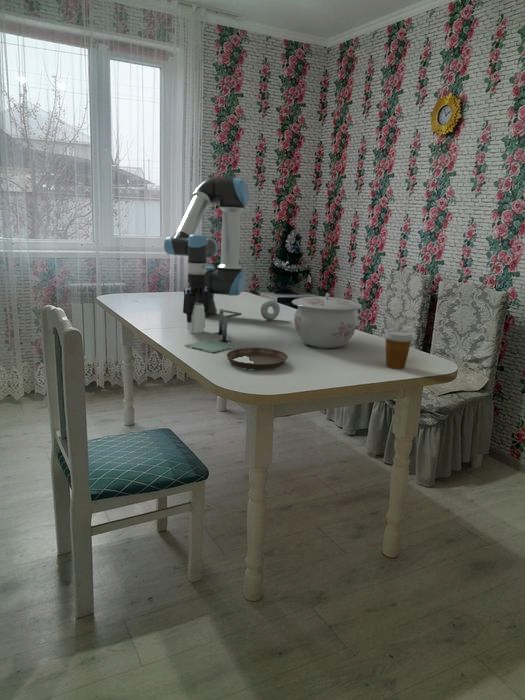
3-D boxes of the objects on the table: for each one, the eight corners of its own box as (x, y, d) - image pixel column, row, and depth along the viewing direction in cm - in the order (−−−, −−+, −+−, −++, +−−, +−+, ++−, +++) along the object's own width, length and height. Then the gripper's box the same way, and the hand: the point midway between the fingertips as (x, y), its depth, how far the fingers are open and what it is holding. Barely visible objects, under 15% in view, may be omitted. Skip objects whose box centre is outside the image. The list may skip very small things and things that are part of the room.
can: (199, 334, 221) (200, 305, 218) (185, 332, 223) (185, 303, 220) (206, 331, 227) (207, 303, 224) (192, 329, 229) (193, 301, 226)
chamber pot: (313, 355, 195) (317, 299, 190) (276, 339, 219) (279, 288, 214) (374, 350, 208) (379, 297, 203) (333, 335, 232) (337, 287, 227)
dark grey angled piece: (198, 338, 214) (198, 312, 212) (220, 333, 225) (220, 308, 223) (225, 343, 207) (225, 317, 204) (246, 338, 218) (247, 313, 215)
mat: (184, 346, 200) (184, 344, 199) (209, 340, 211) (209, 339, 211) (213, 353, 192) (213, 351, 192) (237, 346, 203) (237, 345, 203)
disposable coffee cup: (377, 362, 190) (381, 329, 187) (404, 363, 191) (407, 330, 188) (386, 370, 181) (389, 335, 178) (413, 370, 182) (417, 336, 179)
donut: (277, 319, 262) (278, 298, 260) (280, 320, 259) (281, 299, 257) (258, 319, 258) (259, 299, 255) (262, 321, 255) (263, 300, 252)
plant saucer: (239, 375, 168) (239, 364, 168) (217, 358, 187) (218, 349, 186) (297, 370, 177) (298, 360, 176) (271, 354, 195) (272, 346, 194)
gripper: (187, 275, 209) (186, 333, 215) (219, 272, 225) (218, 326, 230) (173, 273, 213) (173, 330, 219) (205, 271, 229) (204, 324, 234)
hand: (196, 328), depth 225 cm, fingers closed on can, 6 cm apart
